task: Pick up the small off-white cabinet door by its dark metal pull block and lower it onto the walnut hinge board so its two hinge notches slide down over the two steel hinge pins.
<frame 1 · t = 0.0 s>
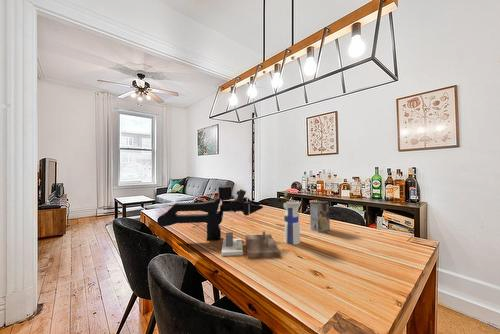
hand: (261, 205, 113), 17 cm above the table, tool horizontal, fingers open, 9 cm apart
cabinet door: (232, 248, 98), on the table
coffee box: (320, 230, 123), on the table
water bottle: (291, 242, 105), on the table
hinge board: (260, 246, 99), on the table
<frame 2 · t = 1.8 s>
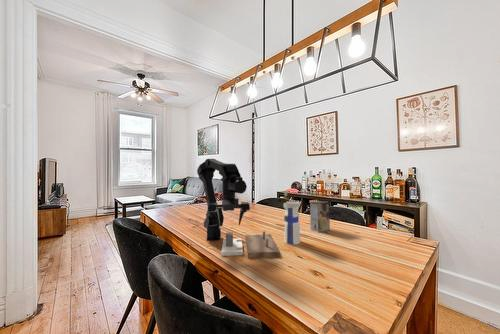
hand: (229, 225, 98), 10 cm above the table, tool pointing down, fingers open, 9 cm apart
nothing on the table moved.
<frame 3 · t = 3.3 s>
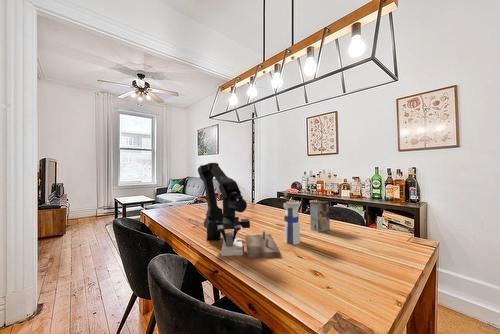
hand: (229, 242, 98), 3 cm above the table, tool pointing down, fingers closed on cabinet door, 3 cm apart
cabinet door: (232, 248, 98), on the table, touching gripper
everything else where it was.
when the fingers open (5 cm above the table, at t = 6.7 s): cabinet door stays where it is, resting on hinge board.
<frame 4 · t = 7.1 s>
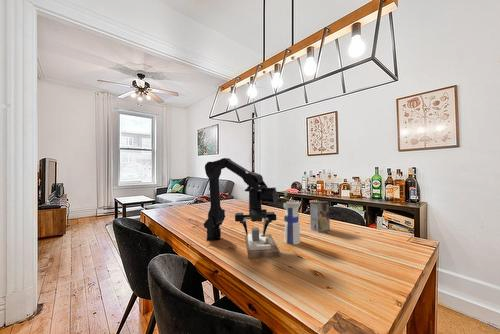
hand: (255, 235, 99), 5 cm above the table, tool pointing down, fingers open, 7 cm apart
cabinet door: (258, 242, 99), point 2 cm above the table, touching hinge board
everything else where it was.
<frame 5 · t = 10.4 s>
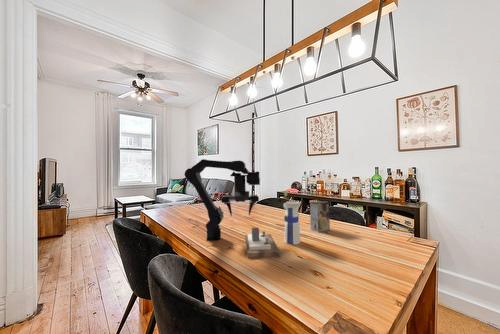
hand: (240, 215, 110), 12 cm above the table, tool pointing down, fingers open, 9 cm apart
nothing on the table moved.
at the end: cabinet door 0.4 cm off-centre on the hinge board, point 2.0 cm above the hinge board's base; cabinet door tilted 0°; the gripper is holding nothing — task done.
